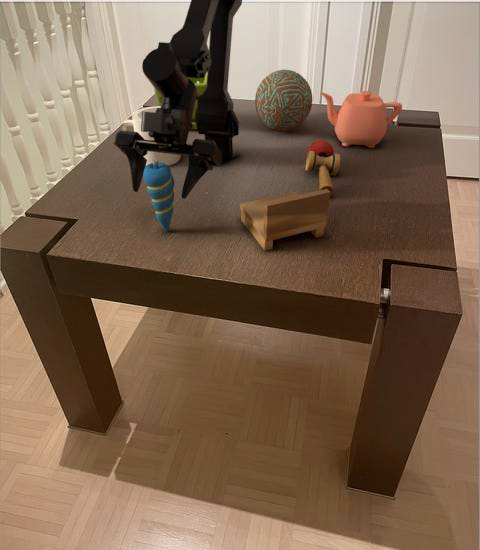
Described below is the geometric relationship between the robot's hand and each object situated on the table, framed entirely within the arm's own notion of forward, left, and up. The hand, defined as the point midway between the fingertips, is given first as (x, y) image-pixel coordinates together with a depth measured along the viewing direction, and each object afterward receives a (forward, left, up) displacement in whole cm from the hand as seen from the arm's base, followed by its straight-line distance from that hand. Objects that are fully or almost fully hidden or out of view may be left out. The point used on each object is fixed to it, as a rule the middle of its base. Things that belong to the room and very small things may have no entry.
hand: (158, 194), depth 81 cm
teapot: (-61, +6, -8) cm, 61 cm away
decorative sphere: (-55, -13, -8) cm, 57 cm away
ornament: (-1, 0, -8) cm, 8 cm away
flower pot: (-41, -36, -8) cm, 55 cm away
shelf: (-16, +16, -8) cm, 24 cm away
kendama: (-38, +11, -8) cm, 40 cm away
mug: (-21, -26, -8) cm, 35 cm away
